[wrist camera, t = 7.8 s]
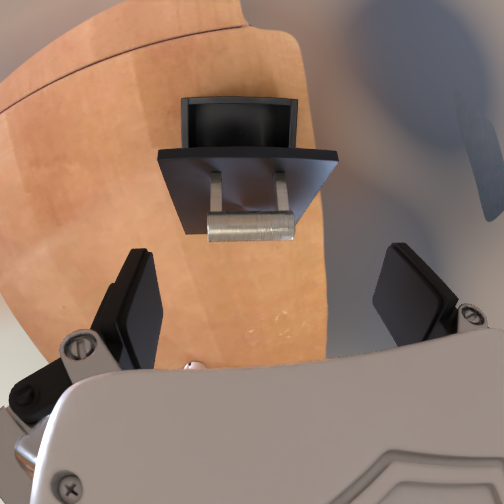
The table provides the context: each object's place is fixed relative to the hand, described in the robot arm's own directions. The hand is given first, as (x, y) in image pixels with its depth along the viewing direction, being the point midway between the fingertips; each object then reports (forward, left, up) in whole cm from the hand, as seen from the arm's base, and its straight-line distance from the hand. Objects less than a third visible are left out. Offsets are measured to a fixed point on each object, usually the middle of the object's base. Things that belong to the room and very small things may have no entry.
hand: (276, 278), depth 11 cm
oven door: (+1, -1, -13) cm, 13 cm away
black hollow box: (0, 0, -27) cm, 27 cm away
